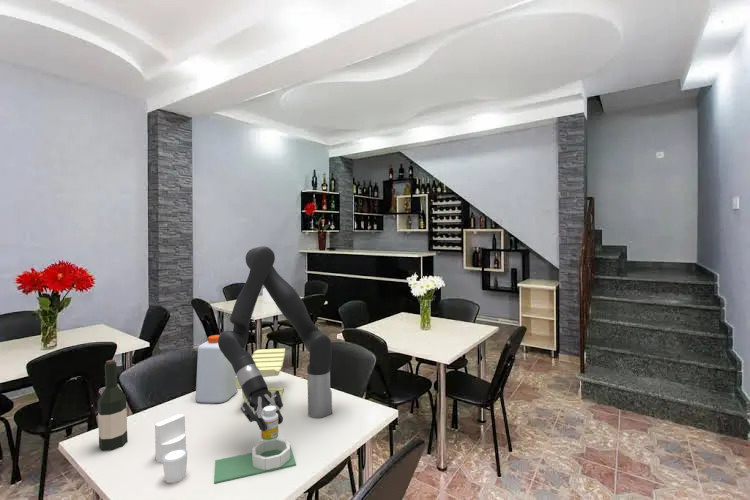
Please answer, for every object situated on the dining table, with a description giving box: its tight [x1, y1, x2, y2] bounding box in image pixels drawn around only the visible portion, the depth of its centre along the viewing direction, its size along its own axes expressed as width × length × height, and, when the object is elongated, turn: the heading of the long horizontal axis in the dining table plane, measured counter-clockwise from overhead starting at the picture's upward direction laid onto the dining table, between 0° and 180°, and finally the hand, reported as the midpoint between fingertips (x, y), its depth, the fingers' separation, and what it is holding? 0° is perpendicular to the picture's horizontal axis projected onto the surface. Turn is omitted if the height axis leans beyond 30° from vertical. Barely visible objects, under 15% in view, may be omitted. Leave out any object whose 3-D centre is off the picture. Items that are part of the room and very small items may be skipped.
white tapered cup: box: [162, 449, 188, 484], centre depth 116 cm, size 7×7×7 cm
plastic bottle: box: [195, 334, 238, 404], centre depth 174 cm, size 15×15×28 cm
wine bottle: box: [97, 359, 129, 452], centre depth 134 cm, size 8×8×30 cm
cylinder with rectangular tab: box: [154, 413, 187, 464], centre depth 128 cm, size 9×9×12 cm
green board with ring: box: [213, 437, 297, 485], centre depth 122 cm, size 24×12×4 cm, turn 111°
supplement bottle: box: [260, 404, 279, 441], centre depth 124 cm, size 5×5×10 cm
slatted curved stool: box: [236, 348, 286, 403], centre depth 173 cm, size 30×16×18 cm, turn 5°
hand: (273, 426), depth 123 cm, fingers closed on supplement bottle, 5 cm apart
